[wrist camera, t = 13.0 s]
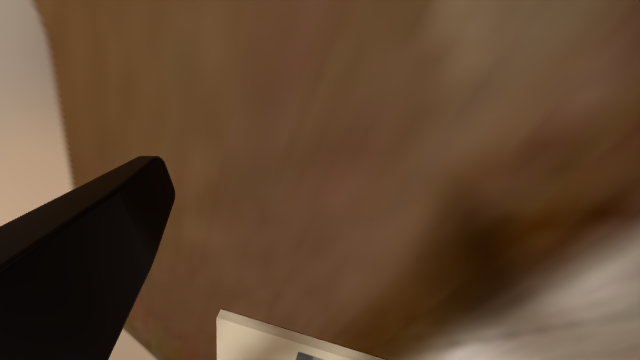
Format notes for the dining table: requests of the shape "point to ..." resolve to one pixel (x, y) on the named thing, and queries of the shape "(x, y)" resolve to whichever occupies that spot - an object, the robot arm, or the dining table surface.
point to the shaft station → (273, 342)
